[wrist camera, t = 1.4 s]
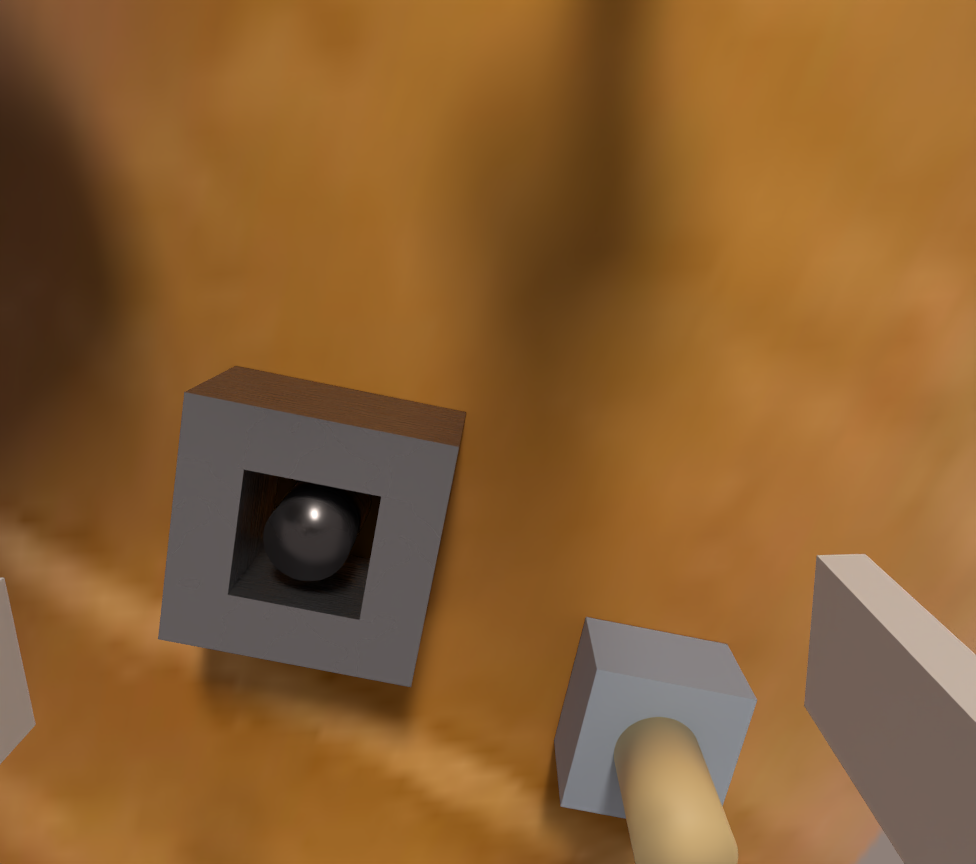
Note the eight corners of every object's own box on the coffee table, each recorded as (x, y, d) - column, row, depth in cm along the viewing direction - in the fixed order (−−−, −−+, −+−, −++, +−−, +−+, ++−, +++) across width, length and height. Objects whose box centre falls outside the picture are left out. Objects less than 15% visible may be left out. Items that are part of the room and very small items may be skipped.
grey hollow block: (209, 577, 32) (158, 639, 28) (235, 365, 30) (184, 392, 25) (424, 619, 33) (411, 687, 28) (466, 412, 31) (459, 447, 26)
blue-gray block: (554, 740, 34) (571, 916, 25) (586, 616, 33) (615, 758, 24) (689, 766, 34) (752, 949, 26) (727, 644, 33) (808, 795, 24)
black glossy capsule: (291, 524, 32) (257, 572, 27) (302, 454, 31) (269, 492, 27) (365, 539, 32) (343, 588, 28) (376, 470, 31) (356, 509, 27)
